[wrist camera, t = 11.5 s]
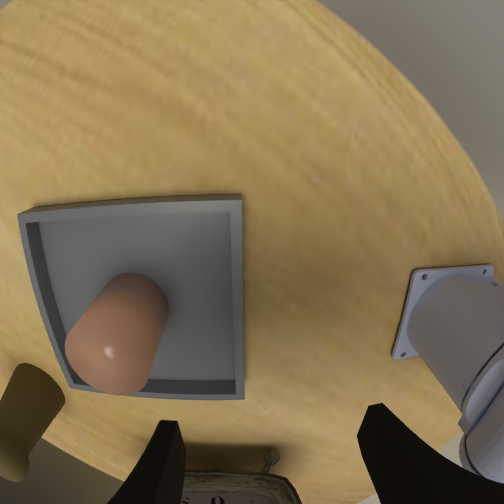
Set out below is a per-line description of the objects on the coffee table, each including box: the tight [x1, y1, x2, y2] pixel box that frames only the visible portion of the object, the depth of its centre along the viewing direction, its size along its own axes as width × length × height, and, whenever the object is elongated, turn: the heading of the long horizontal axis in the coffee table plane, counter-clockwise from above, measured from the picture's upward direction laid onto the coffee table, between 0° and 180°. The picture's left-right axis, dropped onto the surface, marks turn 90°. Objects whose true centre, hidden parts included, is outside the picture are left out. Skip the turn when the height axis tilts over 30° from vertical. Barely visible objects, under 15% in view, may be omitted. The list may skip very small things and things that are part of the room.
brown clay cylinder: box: [65, 273, 169, 395], centre depth 16 cm, size 5×5×6 cm
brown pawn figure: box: [0, 363, 65, 482], centre depth 17 cm, size 6×6×11 cm
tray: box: [17, 194, 245, 400], centre depth 18 cm, size 14×14×2 cm
